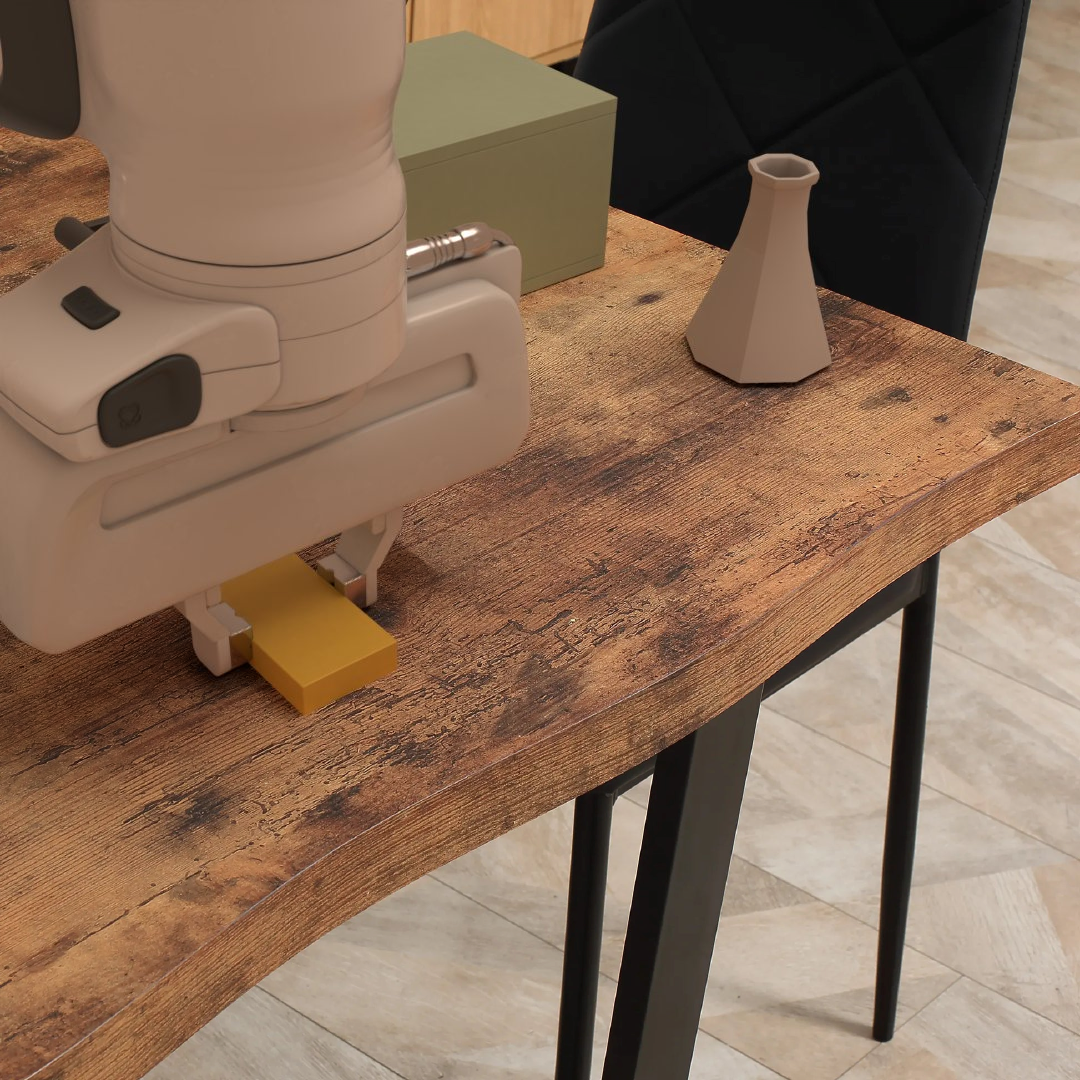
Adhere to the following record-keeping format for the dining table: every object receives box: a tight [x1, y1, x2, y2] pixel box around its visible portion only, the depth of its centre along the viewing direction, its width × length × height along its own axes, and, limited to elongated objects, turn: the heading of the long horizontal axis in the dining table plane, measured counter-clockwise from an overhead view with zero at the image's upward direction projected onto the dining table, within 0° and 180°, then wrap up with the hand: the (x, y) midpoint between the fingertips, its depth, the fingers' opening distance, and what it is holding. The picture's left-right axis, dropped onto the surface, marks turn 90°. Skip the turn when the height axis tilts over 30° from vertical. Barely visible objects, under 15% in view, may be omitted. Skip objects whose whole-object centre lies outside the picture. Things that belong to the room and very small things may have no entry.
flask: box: [683, 153, 833, 384], centre depth 75 cm, size 7×7×10 cm
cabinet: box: [393, 29, 618, 297], centre depth 82 cm, size 15×13×10 cm
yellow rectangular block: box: [207, 552, 399, 717], centre depth 56 cm, size 8×4×3 cm, turn 41°
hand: (287, 631), depth 56 cm, fingers closed on yellow rectangular block, 4 cm apart
